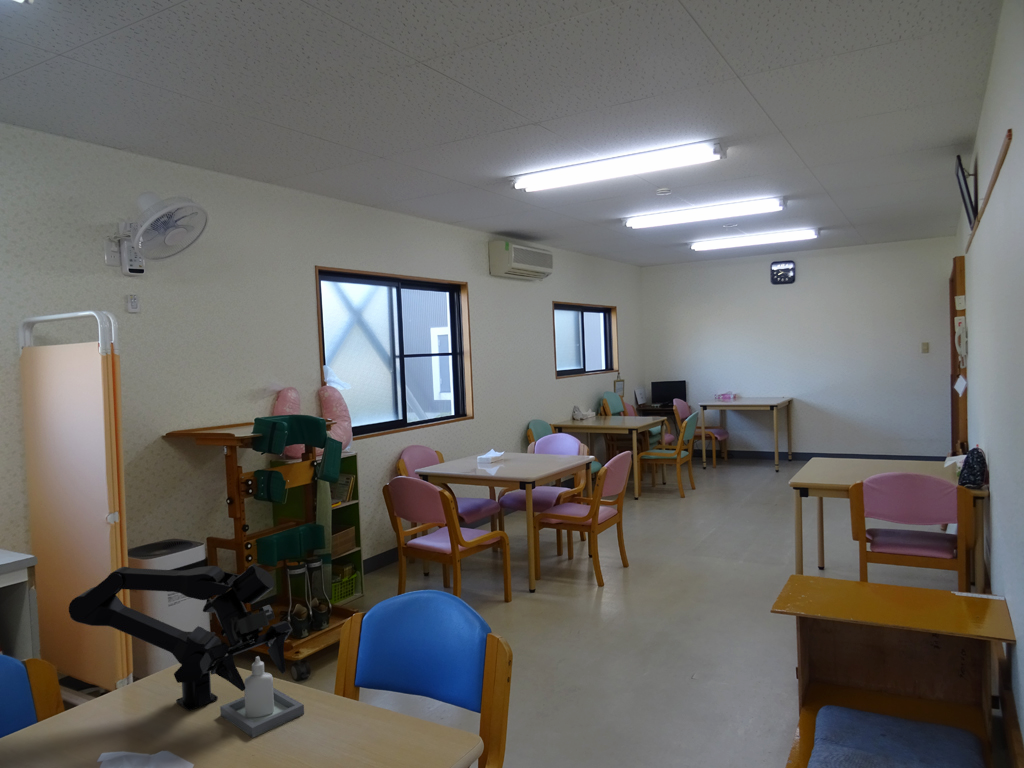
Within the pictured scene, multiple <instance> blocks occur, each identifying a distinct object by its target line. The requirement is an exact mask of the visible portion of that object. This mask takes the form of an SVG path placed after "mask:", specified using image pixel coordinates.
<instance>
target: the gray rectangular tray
mask: <svg viewBox="0 0 1024 768" xmlns="http://www.w3.org/2000/svg"><path fill="white" fill-rule="evenodd" d="M273 695H274V711H273V713H271V714H269V715H266V716H263V717H257V718H247V717H246V715H245V696H243V697H240V698H237V699H235V700H233V701H230V702H228V703H227V702H226V704H222V705H220V706H219V708H220V709H219V710H220V717H221V718H223V719H225V720H226V721H227V722H229V723H230V724H232V725H233V726H235V727H236V728H238V729H240V731H242V732H243V733H245V734H247V736H250V737H251V738H252V739H253V738H255V737H258V736H259V735H261V734H264V733H266V732H268V731H271V730H272V729H275V728H276V727H280V726H282V725H284V724H286V723H288V722H290V721H292V720H294V719H296V718H299V717H301V716H303V715H304V714H305V704H304V703H302V702H300V701H299V700H296V699H294V698H292V697H291V696H289V695H287V694H285V692H282V691H280V690H279V689H277V688H275V687H273Z"/></svg>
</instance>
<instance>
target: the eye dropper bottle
mask: <svg viewBox="0 0 1024 768" xmlns="http://www.w3.org/2000/svg"><path fill="white" fill-rule="evenodd" d="M243 682H244V685H245V690H244V691H243V692H244V697H245V715H246V717H247V718H257V717H263V716H266V715H269V714H271V713H273V711H274V695H273V688H274V679H273V675H272V673H270V672H265V661H262V660H261V658H260V656H259V655H258V656H255V660H254V662H253V663H252V664H251V674H250V675H248V676H246V677H245V678H244V680H243Z"/></svg>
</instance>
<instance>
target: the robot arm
mask: <svg viewBox="0 0 1024 768" xmlns="http://www.w3.org/2000/svg"><path fill="white" fill-rule="evenodd" d="M274 587H275V581H274V577H272V575H271V574H270V572H269V571H267V570H266V569H264V568H262V567H261V566H260V567H259V566H258V565H257V564H256V563H252V564H251V565H249V567H248V568H247V569H246V570H245V571H244V572H242V573H241V574H237V573H233V572H227V571H226V570H225V571H224V570H223V569H222V568H221V567H220V566H217V565H207V566H199V567H193V568H191V569H184V570H177V569H175V570H174V569H173V570H172V569H157V568H152V569H151V568H138V567H137V568H136V567H135V568H134V567H128V566H121V567H119V568H117V569H115V570H114V571H112V572H111V573H109V574H108V575H107V577H106V578H105V579H104V580H102V581H101V582H100V583H99V584H97V585H96V586H93V587H91V588H89V589H87V590H86V591H84V592H82V593H81V594H79V595H77V596H76V597H74V598H73V599H72V600H71V602H70V603H69V604H68V614H69V618H70V619H71V620H72V621H74V623H75V622H76V623H79V624H82V625H87V626H91V627H111V628H112V629H116V630H117V631H119V632H122V633H124V634H126V635H128V636H129V635H130V636H132V637H134V638H136V639H138V640H141V641H143V642H145V643H148V644H151V645H153V646H155V647H156V648H159V649H161V650H163V651H167V652H169V653H171V654H172V655H173V657H174V658H175V659H176V661H177V662H178V663H179V664H180V666H179V667H178V668H177V670H175V672H174V673H173V677H174V679H175V681H176V683H179V684H181V694H182V695H181V696H182V697H180V698H177V699H176V700H175V701H176V703H177V704H178V705H179V706H181V707H182V708H183V709H185V710H186V711H193V710H195V709H197V708H201V707H202V706H204V705H207V704H210V703H212V702H214V701H217V700H218V699H219V698H218V696H217V695H216V694H215V693H213V692H212V683H211V675H217V676H219V677H221V678H222V679H224V680H226V681H227V682H229V683H230V684H231V685H233V686H234V687H235V688H237V689H238V690H240V691H241V692H244V690H245V685H244V680H243V678H242V676H241V674H240V672H239V670H238V669H237V665H235V659H234V656H236V655H238V654H240V653H243V652H246V651H249V650H251V649H255V648H256V647H260V646H261V645H265V646H266V647H267V648H268V649H267V653H268V655H269V657H270V658H271V659H272V661H273V663H274V664H275V666H276V668H277V669H278V671H279V672H280V673H281V675H283V674H285V673H286V671H287V670H286V662H285V653H284V652H285V651H284V649H285V641H286V640H287V639H288V637H289V635H290V634H291V633H292V632H293V628H292V626H291V624H290V622H288V621H286V620H282V621H280V622H276V623H275V624H272V625H270V622H269V621H272V620H274V619H275V613H274V610H273V608H272V607H271V605H270V604H267V605H265V606H262V607H259V608H258V612H257V613H253V612H252V611H251V610H249V611H248V610H247V608H246V606H245V605H247V604H249V605H250V604H251V605H253V604H254V603H256V602H257V601H259V599H261V598H262V597H263V596H264V595H266V594H267V593H268V592H269V591H271V590H272V589H273V588H274ZM122 590H132V591H133V590H134V591H150V592H151V591H153V592H171V593H172V592H173V593H177V594H181V595H183V597H187V598H190V599H195V600H199V601H206V603H205V604H204V606H203V608H202V612H203V613H212V614H215V615H216V618H217V620H218V621H219V624H220V626H221V628H222V629H221V632H220V633H221V636H222V637H224V636H225V637H226V639H227V641H228V643H229V646H228V643H225V642H222V641H221V639H220V638H219V637H218V636H217V635H215V634H216V631H208V630H207V629H205V628H203V627H202V626H199V625H198V626H197V627H195V628H194V629H193V630H192V631H185V630H182V629H179V628H177V627H175V626H173V625H170V624H168V623H166V622H163V621H161V620H159V619H157V618H154V617H152V616H149V615H147V614H145V613H142V612H140V611H138V610H136V609H134V608H131V607H129V606H126V605H125V604H123V601H121V600H120V598H119V597H118V596H117V594H119V593H120V592H121V591H122ZM214 596H215V597H214ZM211 598H213V599H211ZM269 625H270V627H268V629H267V631H266V632H265V633H263V634H260V633H262V632H263V630H264V628H263V627H267V626H269Z"/></svg>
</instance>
